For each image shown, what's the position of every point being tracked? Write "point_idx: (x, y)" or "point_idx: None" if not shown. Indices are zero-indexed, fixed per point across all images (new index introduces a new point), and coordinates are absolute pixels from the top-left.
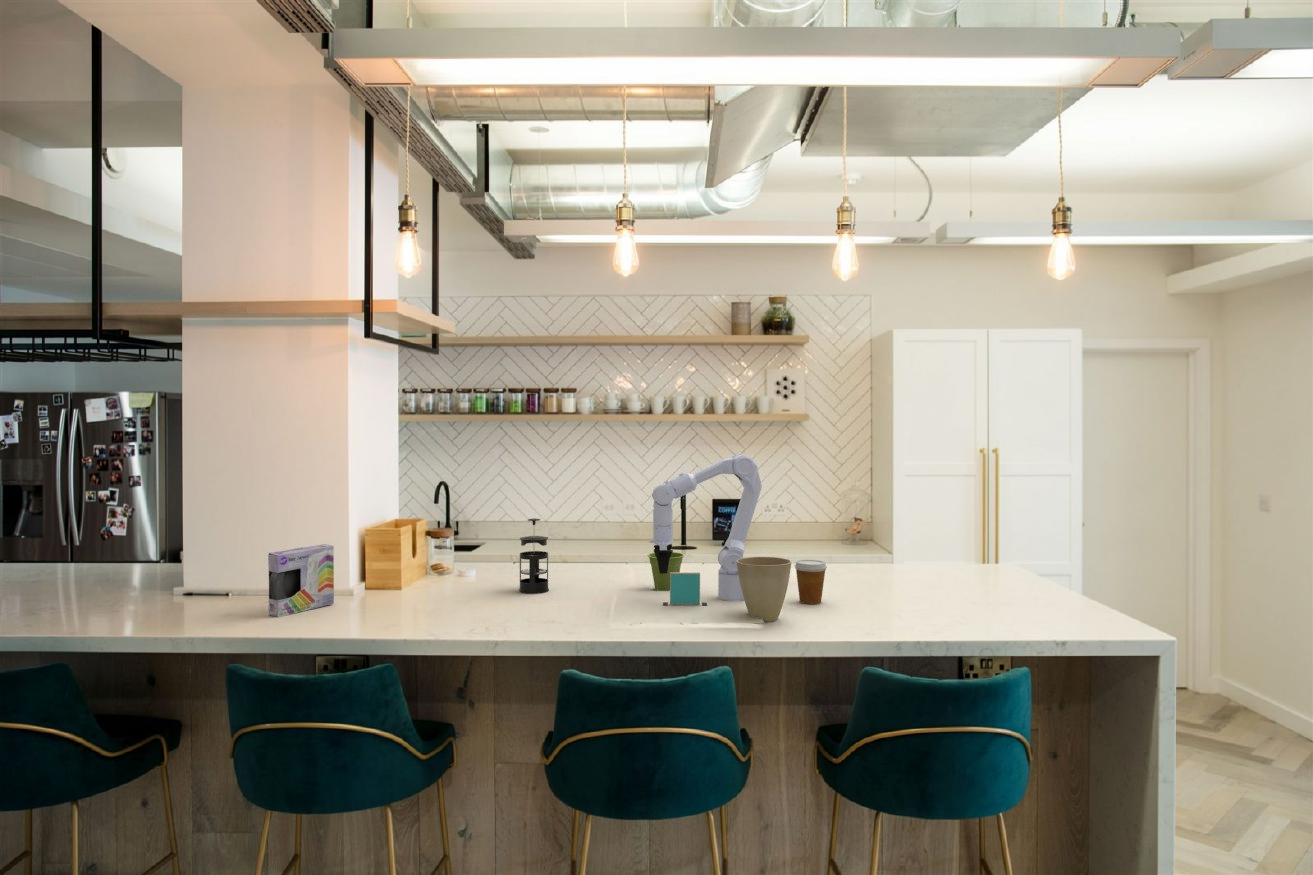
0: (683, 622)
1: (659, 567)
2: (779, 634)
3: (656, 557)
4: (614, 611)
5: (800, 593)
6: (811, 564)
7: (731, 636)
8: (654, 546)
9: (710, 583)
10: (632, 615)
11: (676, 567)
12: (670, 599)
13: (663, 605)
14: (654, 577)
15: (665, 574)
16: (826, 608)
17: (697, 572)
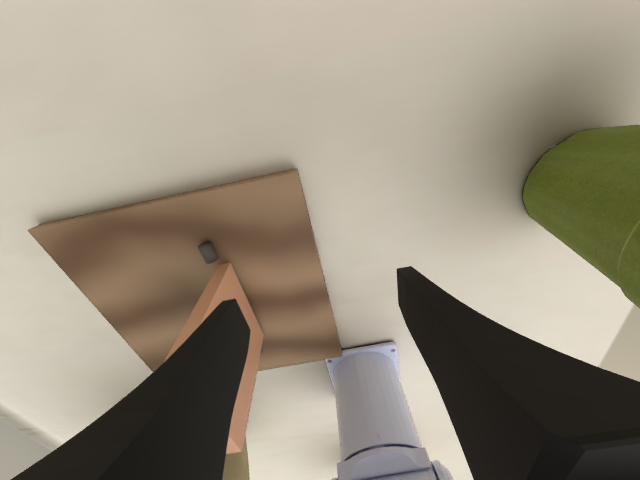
0: (82, 314)
1: (196, 334)
2: None
3: (97, 419)
4: (62, 22)
5: None
6: None
7: (36, 402)
8: (564, 445)
9: (626, 299)
10: (51, 143)
11: (616, 284)
12: (213, 277)
13: (201, 245)
14: (623, 140)
15: (582, 216)
16: (333, 468)
17: (237, 447)
